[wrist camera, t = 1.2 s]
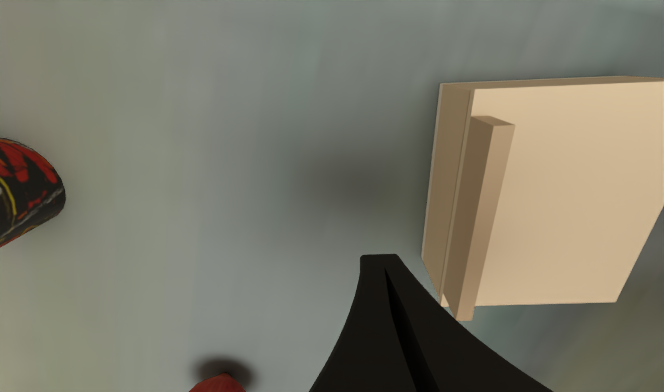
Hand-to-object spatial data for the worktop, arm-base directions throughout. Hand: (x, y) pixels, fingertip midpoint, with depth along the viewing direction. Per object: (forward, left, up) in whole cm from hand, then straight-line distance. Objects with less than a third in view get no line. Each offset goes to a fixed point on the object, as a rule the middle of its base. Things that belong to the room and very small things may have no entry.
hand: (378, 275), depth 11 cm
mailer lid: (-9, 0, -5) cm, 11 cm away
